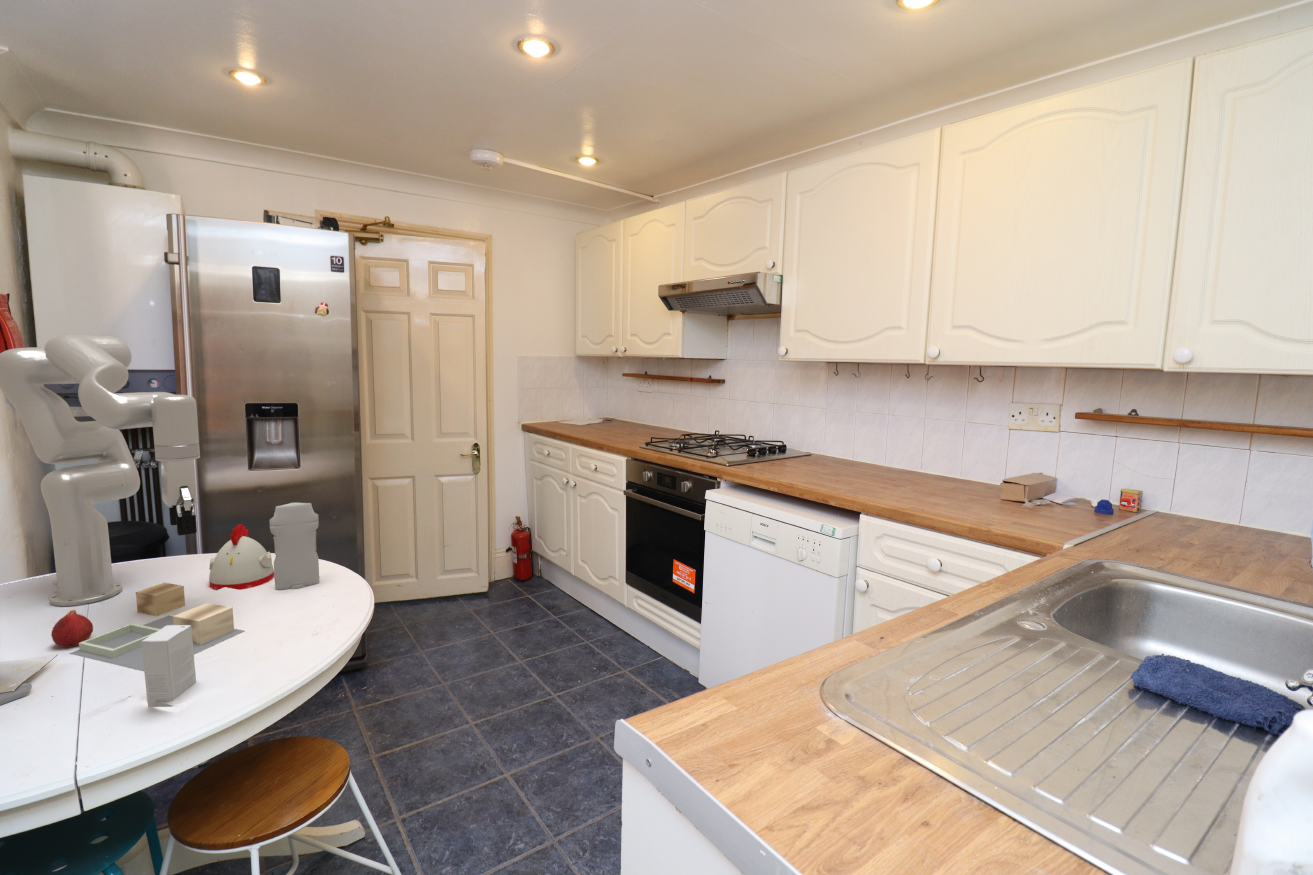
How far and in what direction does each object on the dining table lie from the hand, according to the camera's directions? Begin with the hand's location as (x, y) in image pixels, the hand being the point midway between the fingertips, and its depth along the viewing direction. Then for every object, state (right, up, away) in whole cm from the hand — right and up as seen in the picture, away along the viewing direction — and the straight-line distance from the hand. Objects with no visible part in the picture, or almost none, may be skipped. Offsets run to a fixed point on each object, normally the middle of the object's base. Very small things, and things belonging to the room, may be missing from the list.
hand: (183, 528), depth 130 cm
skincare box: (+20, -25, -27) cm, 42 cm away
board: (+4, -22, -10) cm, 25 cm away
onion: (-12, -22, -12) cm, 28 cm away
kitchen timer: (-5, -18, +25) cm, 31 cm away
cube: (-8, -20, +4) cm, 22 cm away
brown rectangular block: (+10, -21, -7) cm, 24 cm away
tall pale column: (+11, -18, +23) cm, 31 cm away
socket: (-3, -21, -12) cm, 24 cm away
